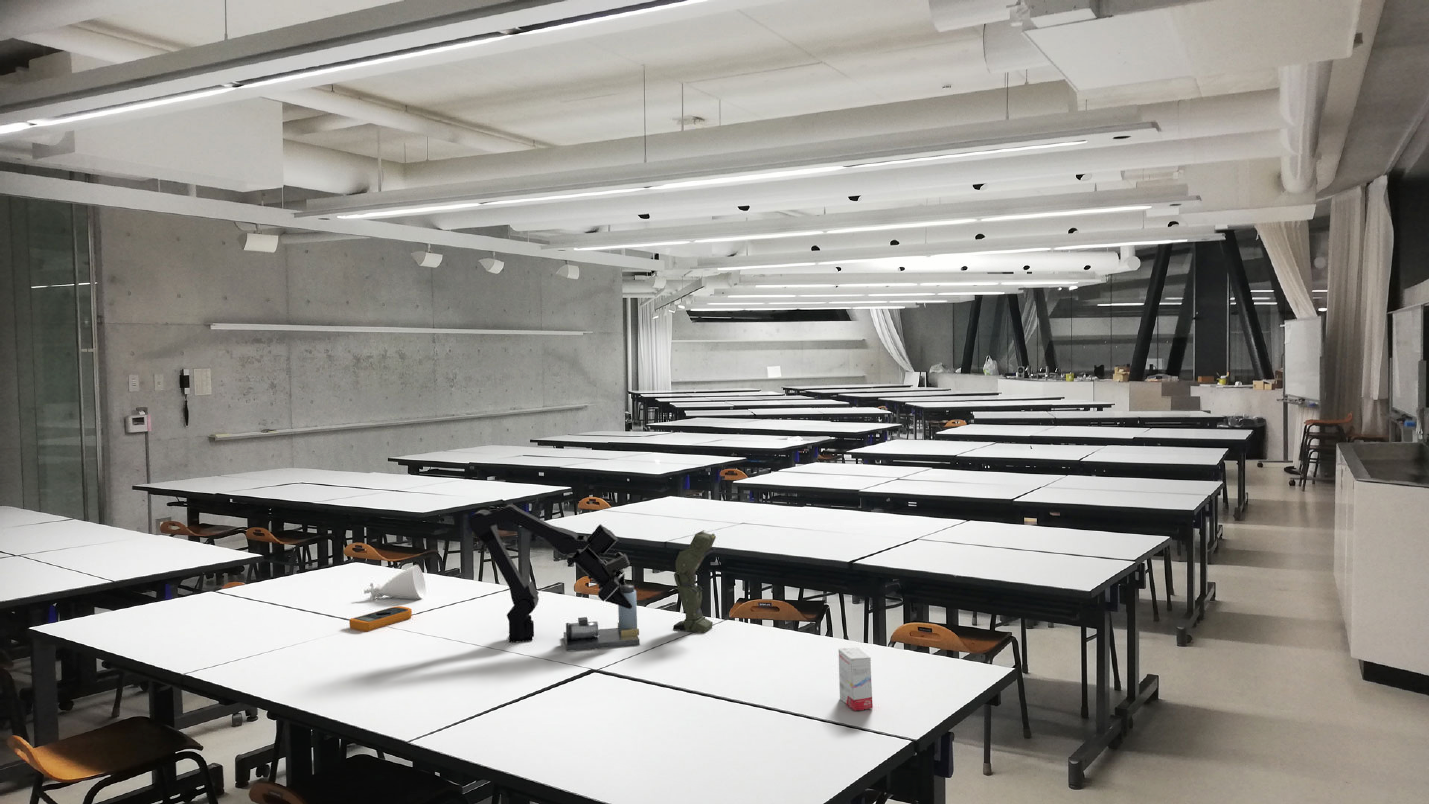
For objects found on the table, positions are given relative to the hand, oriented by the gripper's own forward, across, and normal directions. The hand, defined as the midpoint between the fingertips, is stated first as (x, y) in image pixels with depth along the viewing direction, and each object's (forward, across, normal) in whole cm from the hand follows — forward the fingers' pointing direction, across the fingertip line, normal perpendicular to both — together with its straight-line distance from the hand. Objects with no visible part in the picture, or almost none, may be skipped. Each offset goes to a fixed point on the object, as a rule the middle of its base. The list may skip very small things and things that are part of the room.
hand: (632, 603), depth 265 cm
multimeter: (-48, +20, +62) cm, 81 cm away
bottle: (+5, 0, +7) cm, 8 cm away
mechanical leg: (+19, +6, -6) cm, 21 cm away
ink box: (+45, -55, -32) cm, 78 cm away
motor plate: (+1, -4, +13) cm, 14 cm away
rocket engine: (-52, +51, +66) cm, 98 cm away
